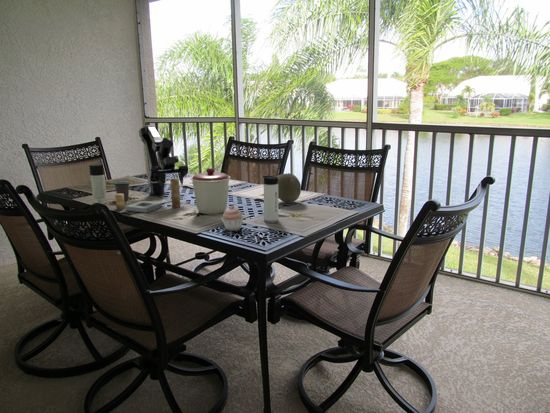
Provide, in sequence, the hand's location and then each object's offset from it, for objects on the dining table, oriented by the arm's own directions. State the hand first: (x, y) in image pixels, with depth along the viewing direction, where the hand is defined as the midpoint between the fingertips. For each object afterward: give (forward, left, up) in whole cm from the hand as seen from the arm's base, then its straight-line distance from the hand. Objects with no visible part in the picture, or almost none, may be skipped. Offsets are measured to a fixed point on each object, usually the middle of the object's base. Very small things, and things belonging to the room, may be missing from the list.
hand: (173, 185), depth 213 cm
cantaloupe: (+49, +27, -10) cm, 57 cm away
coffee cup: (-34, +1, -10) cm, 35 cm away
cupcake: (+45, -23, -11) cm, 52 cm away
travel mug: (+55, -7, -10) cm, 57 cm away
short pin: (-22, -14, -10) cm, 28 cm away
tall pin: (+2, -2, -10) cm, 11 cm away
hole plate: (-11, -10, -10) cm, 18 cm away
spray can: (-39, -10, -10) cm, 41 cm away
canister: (+23, -3, -10) cm, 26 cm away
